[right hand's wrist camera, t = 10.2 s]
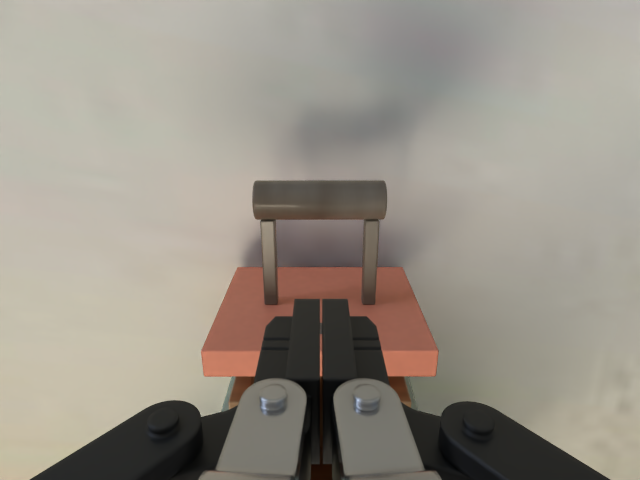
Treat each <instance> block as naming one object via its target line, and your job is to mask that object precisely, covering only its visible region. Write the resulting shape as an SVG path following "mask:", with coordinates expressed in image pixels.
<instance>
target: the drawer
mask: <svg viewBox="0 0 640 480" xmlns="http://www.w3.org/2000/svg"><path fill="white" fill-rule="evenodd" d="M386 209H387V189H386V184H385V181H255V182H254V186H253V213H254V217H255V219H257V220H261V222H260V225H261V245H262V265H263V267H238V268H237V270H236V272H235V274H234V277H233V279H232V281H231V283H230V286H229V288H228V290H227V293H226V295H225V297H224V300H223V302H222V304H221V306H220V309H219V311H218V313H217V316H216V318H215V320H214V323H213V325H212V327H211V329H210V332H209V334H208V336H207V339H206V341H205V343H204V346H203V348H202V350H201V355H202V364H203V372H204V376H236V377H235V380H234V384H233V387H232V391H231V394H230V398H229V401H228V405H229V409H231V408H233V407H235V406H237V405H238V404H239V401H240V398H241V396H242V394H243V393H244V391H245V390H246V389H247V388H248V387H250V386H251V385H253V383H254V378H255V374H256V369H257V365H258V360H259V355H260V351H261V346H262V342H263V337H264V332H265V328H266V326H267V325H268V324H269V322H270V321H271V320H272V319H273V318H274V317H275V316H293V308H294V299H320V464H311V480H332V464H323V413H322V299H348V305H349V313H350V316H367V317H368V318H369V319H370V320H371V321H372V322H373V323H374V324H375V325H376V326H377V331H378V335H379V340H380V344H381V350H382V353H383V357H384V362H385V366H386V370H387V375H388V379H389V384H390V387H392V388H393V389H394V390H395V391H396V393H397V394H398V396H399V398H400V401H401V402H402V403H403V404H405V405H406V406H408V407H410V408H411V403H412V402H411V398H410V395H409V391H408V388H407V384H406V381H405V377H404V376H436V370H437V361H438V352H439V351H438V348H437V346H436V344H435V341H434V339H433V337H432V335H431V332H430V330H429V328H428V325H427V323H426V321H425V318H424V316H423V314H422V311H421V309H420V307H419V304H418V302H417V300H416V298H415V295H414V293H413V291H412V288H411V286H410V284H409V281H408V279H407V277H406V274H405V272H404V270H403V268H402V267H377V258H378V238H379V220H378V219H384V218H385V215H386ZM337 219H364V232H363V260H362V267H277V242H276V220H337Z"/></svg>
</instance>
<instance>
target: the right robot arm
mask: <svg viewBox="0 0 640 480" xmlns="http://www.w3.org/2000/svg"><path fill="white" fill-rule="evenodd" d="M322 413H323V464H332V480H610V479H608V478H607V477H605V476H603V475H602V474H600V473H599V472H597V471H595V470H594V469H592V468H590V467H589V466H587V465H586V464H584V463H582V462H581V461H579V460H577V459H576V458H574V457H572V456H571V455H569V454H568V453H566V452H564V451H563V450H561V449H559V448H558V447H556V446H555V445H553V444H551V443H550V442H548V441H546V440H545V439H543V438H542V437H540V436H538V435H537V434H535V433H533V432H532V431H530V430H528V429H527V428H525V427H524V426H522V425H520V424H519V423H517V422H515V421H514V420H512V419H511V418H509V417H507V416H506V415H504V414H502V413H501V412H499V411H497V410H496V409H494V408H492V407H490V406H487V405H484V404H481V403H476V402H468V401H467V402H457V403H454V404H451V405H450V406H448V407H447V408H446V409H445V410H444V411H443V412H442V415H441V417H440V416H436V415H432V414H428V413H424V412H420V411H417V410H415V409H412V408H410V407H408V406H406V405H405V404H403V403H402V402H401V401H400V398H399V396H398V394H397V393H396V391H395V390H394V389H393V388H392V387H390V384H389V379H388V375H387V370H386V366H385V362H384V357H383V353H382V350H381V344H380V340H379V335H378V331H377V326H376V325H375V324H374V323H373V322H372V321H371V320H370V319H369V318H368V317H367V316H350V313H349V305H348V299H322ZM311 464H320V299H294V308H293V316H275V317H274V318H273V319H272V320H271V321H270V322H269V324H268V325H267V326H266V328H265V332H264V337H263V342H262V346H261V351H260V355H259V360H258V365H257V369H256V374H255V378H254V383H253V385H251V386H250V387H248V388H247V389H246V390H245V391H244V393H243V394H242V396H241V398H240V401H239V404H238V405H237V406H235V407H233V408H231V409H229V410H226V411H223V412H220V413H216V414H212V415H208V416H204V417H201V415H200V412H199V411H198V409H197V408H196V407H195V406H194V405H192V404H190V403H188V402H184V401H175V400H174V401H165V402H161V403H157V404H154V405H152V406H150V407H148V408H146V409H144V410H142V411H141V412H139V413H138V414H136V415H134V416H133V417H131V418H129V419H128V420H126V421H125V422H123V423H121V424H120V425H118V426H116V427H115V428H113V429H112V430H110V431H108V432H107V433H105V434H103V435H102V436H100V437H99V438H97V439H95V440H94V441H92V442H90V443H89V444H87V445H85V446H84V447H82V448H81V449H79V450H77V451H76V452H74V453H72V454H71V455H69V456H68V457H66V458H64V459H63V460H61V461H59V462H58V463H56V464H55V465H53V466H51V467H50V468H48V469H46V470H45V471H43V472H41V473H40V474H38V475H37V476H35V477H33V478H32V479H30V480H311Z"/></svg>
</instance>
